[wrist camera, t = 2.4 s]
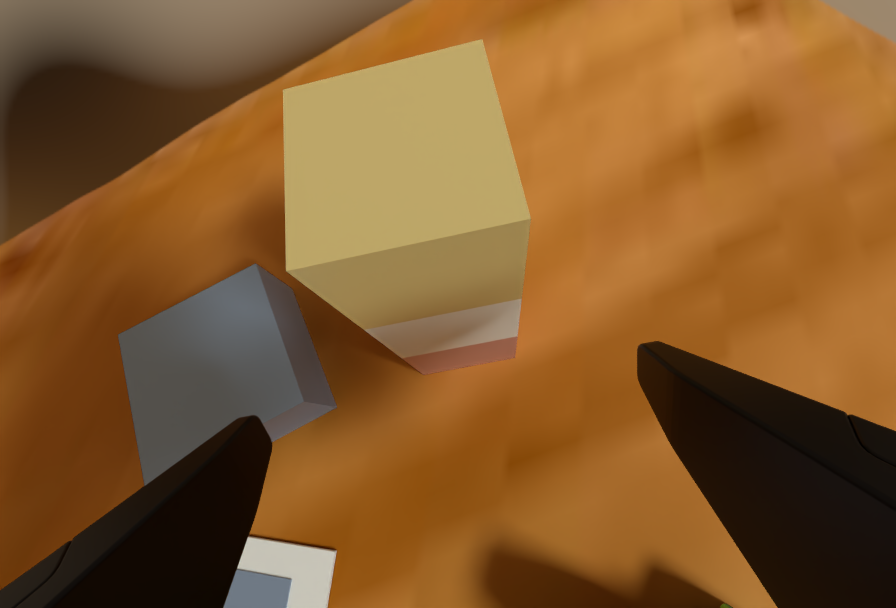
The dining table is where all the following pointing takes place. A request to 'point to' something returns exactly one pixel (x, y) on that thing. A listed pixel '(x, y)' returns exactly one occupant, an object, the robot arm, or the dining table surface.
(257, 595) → the page
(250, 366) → the base brick
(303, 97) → the brick column
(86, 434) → the dining table surface
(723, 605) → the green bumpy elongated piece
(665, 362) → the robot arm
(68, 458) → the dining table surface
